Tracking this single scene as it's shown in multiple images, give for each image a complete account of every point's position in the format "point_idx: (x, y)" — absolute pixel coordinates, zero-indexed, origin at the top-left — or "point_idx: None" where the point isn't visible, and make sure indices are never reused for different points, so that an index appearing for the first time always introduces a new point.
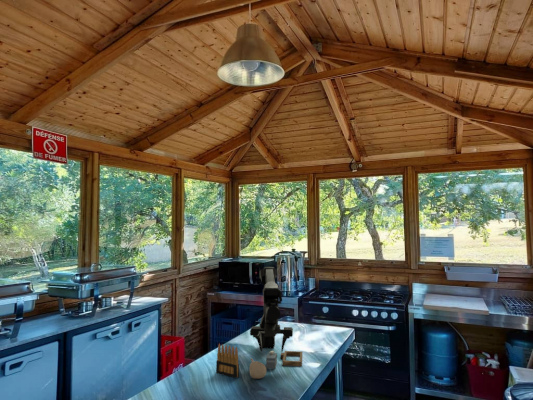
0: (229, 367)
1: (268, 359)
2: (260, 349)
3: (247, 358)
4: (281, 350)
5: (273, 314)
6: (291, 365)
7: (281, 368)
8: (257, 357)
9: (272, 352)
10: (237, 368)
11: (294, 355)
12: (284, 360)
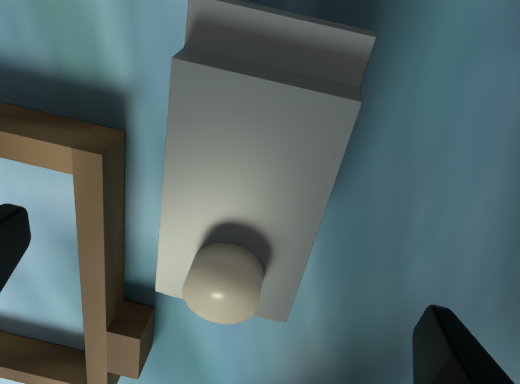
0: None
1: (315, 80)
2: (467, 330)
3: None
4: (6, 219)
5: None
6: (13, 106)
7: (132, 22)
8: (383, 367)
9: (214, 267)
10: None
11: (34, 342)
12: (78, 175)
